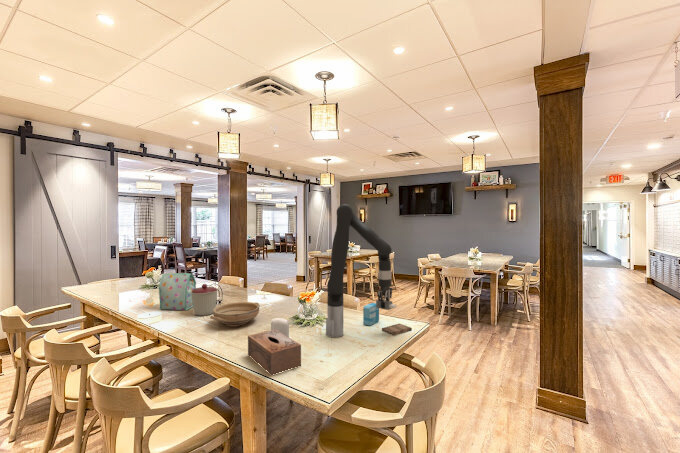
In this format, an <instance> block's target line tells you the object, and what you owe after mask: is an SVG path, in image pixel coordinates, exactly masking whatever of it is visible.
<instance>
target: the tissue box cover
mask: <svg viewBox="0 0 680 453" xmlns="http://www.w3.org/2000/svg"><path fill="white" fill-rule="evenodd" d="M248 355H249V356H251V357H252V358H253V359H254V360H255V361H256V362H257V363H259V364H260V365H261V366H262V367H263V368H264V369H265V370H267V371H268V372H269V373H270V374H271V375H273V374H276V373H279V372H282V371H285V370H288V369H291V368H294V369H296V368H295V367H297V368H299V367H298V366H300V367H302V344H300V343H298V342H297V341H295V340H294V339H292V338H290V336H289V337H287V336H285V335H284V334H282V333H280V332H279V331H277V330H275V329H274V330H271V329H269V330H266V331H262V332H257V333H253V334H250V335H249V334H248V335H247V356H248ZM249 356H248V357H249ZM252 358H251V359H252ZM253 359H252V360H253ZM254 360H253V361H254ZM255 361H254V362H255ZM256 362H255V363H256ZM257 363H256V364H257ZM260 365H259V366H260ZM261 366H260V367H261ZM262 367H261V368H262ZM263 368H262V369H263ZM264 369H263V370H264ZM265 370H264V371H265ZM291 370H292V369H291ZM267 371H266V372H267ZM288 371H289V370H288ZM268 372H267V373H268ZM285 372H286V371H285ZM269 373H268V374H269ZM282 373H283V372H282ZM270 374H269V375H270ZM279 374H280V373H279ZM271 375H270V376H271ZM276 375H277V374H276ZM273 376H274V375H273Z"/></svg>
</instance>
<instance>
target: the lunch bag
mask: <svg viewBox="0 0 680 453" xmlns="http://www.w3.org/2000/svg"><path fill="white" fill-rule="evenodd" d="M196 288H197V281H196V279H195V275H193V273H188V272H184V273H183V272H182V273H181V272H180V273H179V272H178V273H177V272H175V273H174V272H173V273H171V272H169V273H163V274H161V278H160V280H159V284H158V295H159V298H158V300H159V310H172V311H173V310H175V311H185V310H187V311H189V310H190V309H191V308H193V302H192V293H190V292H191V291H192V290H193V289H196ZM188 309H189V310H188Z"/></svg>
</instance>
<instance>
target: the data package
mask: <svg viewBox="0 0 680 453" xmlns="http://www.w3.org/2000/svg"><path fill="white" fill-rule="evenodd" d="M362 308H363V311H362V313H363V317H362V321H363V322H362V323H363V325H365V326H369V327H371V326H373V325H375V324H377V323H379V322H380V308H376V302H371V303H368V304H366V305H364V306H363V307H362Z"/></svg>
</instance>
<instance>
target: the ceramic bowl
mask: <svg viewBox="0 0 680 453" xmlns="http://www.w3.org/2000/svg"><path fill="white" fill-rule="evenodd" d="M260 308H261V307H260V303H259V302H250V301H235V302H230V303H229V302H228V303H223V304H220V305H218V306H216V307H215V308H214V309H213V313H212V314H213V315H211V316H210V320H213V321H214V320H215V321H218V322H219V323H222V324H225V325H226V326H227V327H238V326H239V327H240V325H241V326H243V325H244V326H245V325H246V324H248V322H249V321H251V320H253V319H256V317H257V316H258V315H259V312H260Z"/></svg>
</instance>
